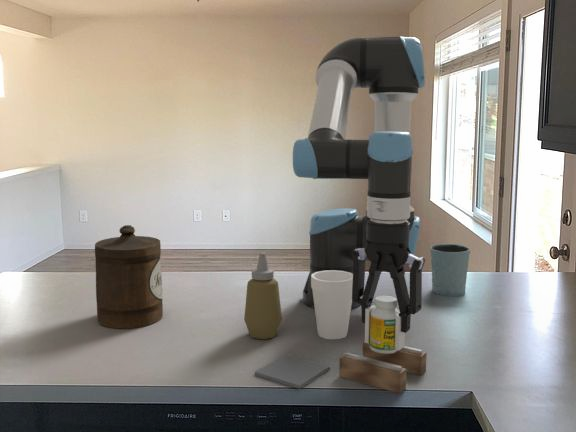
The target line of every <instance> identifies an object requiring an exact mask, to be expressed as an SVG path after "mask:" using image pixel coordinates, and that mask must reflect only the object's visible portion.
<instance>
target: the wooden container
mask: <svg viewBox="0 0 576 432" xmlns="http://www.w3.org/2000/svg"><path fill="white" fill-rule="evenodd" d="M135 232H136V229H135V227H134V226H132V225H129V224H128V225H123V226H121V227H120V228H119V233H120V236H116V237H115V236H114V237H110V238H104V239H101V240H98V241H96V242H95V244H94V256H95V295H96V296H95V298H96V316H97V317H96V318H97V323H99V324H100V326H104V327H106V328H112V329H122V330H123V329H125V330H126V329H136V328H143V327H146V326H150V325H152V324H155V323H157V322H159V321H160V320H161V319H162V318H163V316H164V314H163V313H164V312H163V311H164V310H163V308H164V307H163V279H162V277H163V276H162V260H161V257H162V256H161V240H160V239H158V238H157V237H152V236H142V235H141V236H140V235H135Z"/></svg>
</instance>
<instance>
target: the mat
mask: <svg viewBox="0 0 576 432" xmlns="http://www.w3.org/2000/svg"><path fill="white" fill-rule="evenodd" d="M330 368H331V366H330V365H328V364H327V365H326V364H324V363H319V362H315V361H312V360H309V359H305V358H301V357H298V356H294V355H290V354H286V353H285V354H284V355H282V356H281V357H279V358H278V357H277V359H274V360H273V361H271V362H269V363H267V364H266V365H264V366H262V367H261V368H258V369H257V370H255V371H254V376H257V377H260V378H264V379H266V380H270V381H274V382H277V383H280V384H283V385H286V386H290V387H292V388H296V389H302V388H304V387H305V386H306V385H309V383H311V382H313V381H314V380H315V379H317V378H319V377H320V376H322V375H323V374H325V373H326V372H329V371H330V370H331V369H330Z"/></svg>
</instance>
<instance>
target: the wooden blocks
mask: <svg viewBox="0 0 576 432" xmlns="http://www.w3.org/2000/svg"><path fill="white" fill-rule="evenodd" d="M427 358H428V357H427V351H423V349H420V348H415V347H412V346H411V347H410V346H407V345H405V346H404V347H403V348H402V349H400V350H399V351H397V352H395V353H391V354H382V353H377V352H375V351H373V350H371V348H370V343H365V340H364V341H363V342H362V355H359V354H354V353H350V352H348V351H347V352H345V353H344V354H343V355H341V356H340V357H338V359H339V360H338V361H339V364H338V365H339V366H338V367H339V368H338V369H339V371H338V372H339V373H338V375H339V377H341V378H344V379H348V380H352V381H355V382H358V383H362V384H365V385H369V386H372V387H375V388H379V389H383V390H386V391H390V392H394V393H396V394H401V393H403V392H404V390H406V388H407V373H410V374H414V375H418V376H422V375H423V374H424V373H425V372H426V371H427Z"/></svg>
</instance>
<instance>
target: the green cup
mask: <svg viewBox="0 0 576 432" xmlns="http://www.w3.org/2000/svg"><path fill="white" fill-rule="evenodd" d="M429 250H430V258H431V259H430V261H431V262H430V264H431V267H430V268H431V276H432V277H431V287H432V288H431V289H432V292H433V293H435V294H437V295H441V296H447V297H456V296H457V297H458V296H462V295H465V293H466V284H467V278H468V276H467V275H468V267H469V262H470V261H469V260H470V253H471V249H470V247H468V246H466V245H463V244H457V243H438V244H437V243H436V244H433V245H430V249H429Z"/></svg>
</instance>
